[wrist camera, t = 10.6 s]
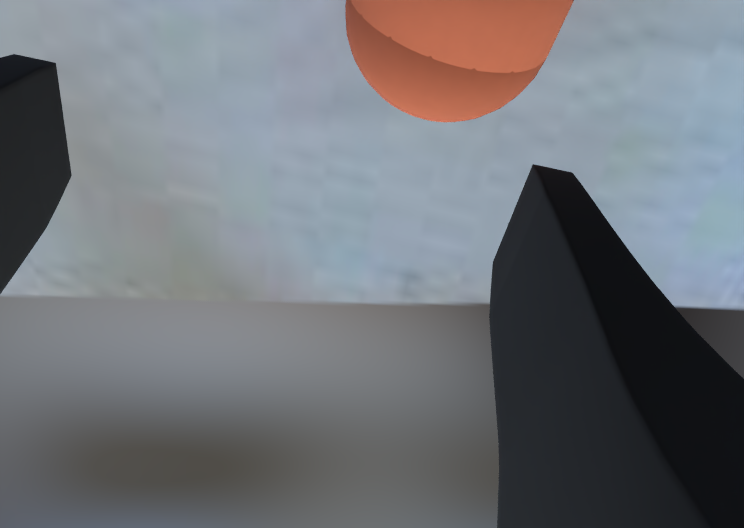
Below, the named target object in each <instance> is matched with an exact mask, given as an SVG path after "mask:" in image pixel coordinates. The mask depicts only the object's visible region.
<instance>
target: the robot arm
mask: <svg viewBox="0 0 744 528" xmlns="http://www.w3.org/2000/svg"><path fill="white" fill-rule="evenodd" d="M70 178H71V169H70V161H69V154H68V147H67V140H66V133H65V126H64V119H63V111H62V104H61V97H60V90H59V83H58V76H57V69H56V63H53V62H48V61H44V60H39V59H34V58H30V57H25V56H20V55H15V54H13V55H9V56H6V57H2V58H0V294H1V292H2V291H3V289H4V288H5V287H6V285H7V284H8V282H9V281H10V280H11V278H12V277H13V275H14V274H15V272H16V271H17V270H18V268H19V267H20V265H21V264H22V262H23V261H24V260H25V258H26V257H27V255H28V254H29V252H30V251H31V249H32V248H33V247H34V245H35V244H36V242H37V241H38V239H39V238H40V236H41V235H42V233H43V232H44V230H45V229H46V227H47V225H48V223H49V221H50V219H51V217H52V215H53V213H54V212H55V210H56V208H57V206H58V204H59V201H60V199H61V197H62V195H63V193H64V191H65V188H66V186H67V184H68V182H69V180H70ZM489 318H490V334H491V348H492V361H493V374H494V387H495V400H496V414H497V427H498V440H499V441H498V442H499V490H498V520H497V528H744V379H743V378H742V377H741V376H740V375H739V374H738V373H737V372H736V371H735V370H734V369H733V368H732V367H731V366H730V365H729V364H728V363H727V362H726V361H725V360H724V359H723V358H722V357H721V356H720V355H719V354H718V353H717V352H716V351H715V350H714V349H713V348H712V347H711V346H710V345H709V344H708V343H707V342H706V341H705V340H704V339H703V338H702V337H701V336H700V335H699V334H698V333H697V332H696V331H695V330H694V329H693V328H692V326H691V325H690V324H689V323H688V322H687V321H686V320H685V319H684V318H683V317H682V315H681V314H680V313H679V312H678V311H677V310H676V308H675V307H674V306H673V305H672V304H671V303H670V301H669V300H668V299H667V298H666V297H665V295H664V294H663V293H662V292H661V291H660V290H659V288H658V287H657V286H656V285H655V284H654V282H653V281H652V280H651V279H650V277H649V276H648V275H647V274H646V272H645V271H644V270H643V268H642V267H641V266H640V265H639V263H638V262H637V261H636V259H635V258H634V257H633V255H632V254H631V253H630V251H629V250H628V249H627V247H626V246H625V245H624V243H623V242H622V241H621V239H620V238H619V236H618V235H617V234H616V232H615V231H614V230H613V228H612V227H611V225H610V224H609V223H608V221H607V220H606V218H605V217H604V216H603V214H602V213H601V211H600V210H599V208H598V207H597V206H596V204H595V203H594V201H593V200H592V199H591V197H590V196H589V194H588V193H587V192H586V190H585V189H584V187H583V186H582V185H581V183H580V182H579V181H578V179H577V178H576V177H575V176H574V174H573V173H571V172H566V171H562V170H557V169H552V168H548V167H543V166H538V165H534V164H533V166H532V168H531V170H530V173H529V175H528V178H527V180H526V183H525V185H524V188H523V190H522V192H521V195H520V197H519V200H518V202H517V205H516V207H515V210H514V212H513V214H512V217H511V219H510V222H509V224H508V227H507V229H506V232H505V234H504V236H503V239H502V241H501V244H500V246H499V249H498V251H497V254H496V256H495V258H494V261H493V269H492V282H491V297H490V317H489Z"/></svg>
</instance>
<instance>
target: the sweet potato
mask: <svg viewBox="0 0 744 528" xmlns="http://www.w3.org/2000/svg"><path fill="white" fill-rule="evenodd" d="M573 1H574V0H346V28H347V37H348V40H349V44H350V47H351V51H352V54H353V56H354V59H355V61H356V63H357V65H358V67H359V69H360V71H361V72H362V74H363V76H364V77H365V79H366V80H367V82H368V83H369V84H370V85H371V86H372V87H373V88H374V89H375V90H376V92H377V93H378V94H379V95H380V96H381V97H382V98H384V99H385V100H386V101H387V102H388V103H390V104H391V105H393V106H394V107H396V108H398V109H399V110H401V111H403V112H405V113H408V114H410V115H412V116H415V117H418V118H422V119H425V120H430V121H436V122H457V121H465V120H470V119H475V118H478V117H481V116H483V115H485V114H488V113H490V112H493V111H495V110H497V109H500V108H501V107H502V106H504V105H505V104H507V103H508V102H510V101H511V100H512V99H514V98H515V97H516V96H517V95H519V94H520V93H521V92H522V91H523V90H524V89H525V88H526V86H527V85H528V84H529V83H530V82H531V81H532V80H533V79H534V78H535V76H536V75H537V73H538V71H539V70H540V68H541V66H542V65H543V63H544V61H545V60H546V58H547V56H548V54H549V52H550V50H551V47H552V45H553V43H554V41H555V39H556V37H557V35H558V33H559V31H560V28H561V26H562V24H563V22H564V20H565V18H566V16H567V14H568V11H569V9H570V7H571V5H572V3H573Z"/></svg>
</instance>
